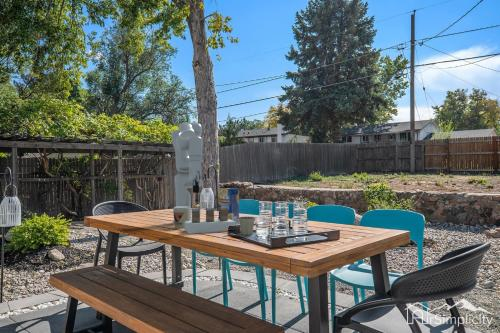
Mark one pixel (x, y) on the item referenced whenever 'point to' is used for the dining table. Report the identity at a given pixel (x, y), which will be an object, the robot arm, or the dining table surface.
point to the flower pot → (246, 225)
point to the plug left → (195, 215)
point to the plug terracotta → (223, 213)
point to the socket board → (208, 226)
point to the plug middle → (210, 214)
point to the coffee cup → (180, 216)
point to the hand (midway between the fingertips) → (195, 192)
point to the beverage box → (230, 202)
